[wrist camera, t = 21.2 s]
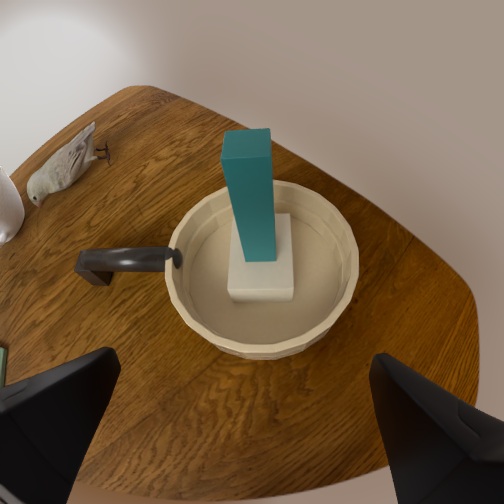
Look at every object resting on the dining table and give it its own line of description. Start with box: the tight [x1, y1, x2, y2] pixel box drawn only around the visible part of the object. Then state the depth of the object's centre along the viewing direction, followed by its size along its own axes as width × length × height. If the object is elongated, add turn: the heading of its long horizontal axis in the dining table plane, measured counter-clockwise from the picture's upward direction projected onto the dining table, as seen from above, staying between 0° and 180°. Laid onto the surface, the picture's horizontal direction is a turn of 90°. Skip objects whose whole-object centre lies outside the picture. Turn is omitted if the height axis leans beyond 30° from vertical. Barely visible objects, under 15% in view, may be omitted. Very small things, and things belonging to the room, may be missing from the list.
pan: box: [165, 180, 359, 360], centre depth 23 cm, size 15×15×4 cm
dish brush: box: [221, 128, 294, 303], centre depth 19 cm, size 7×5×14 cm
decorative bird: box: [27, 122, 111, 208], centre depth 32 cm, size 5×16×8 cm, turn 121°
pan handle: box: [74, 246, 183, 286], centre depth 24 cm, size 2×12×5 cm, turn 88°
